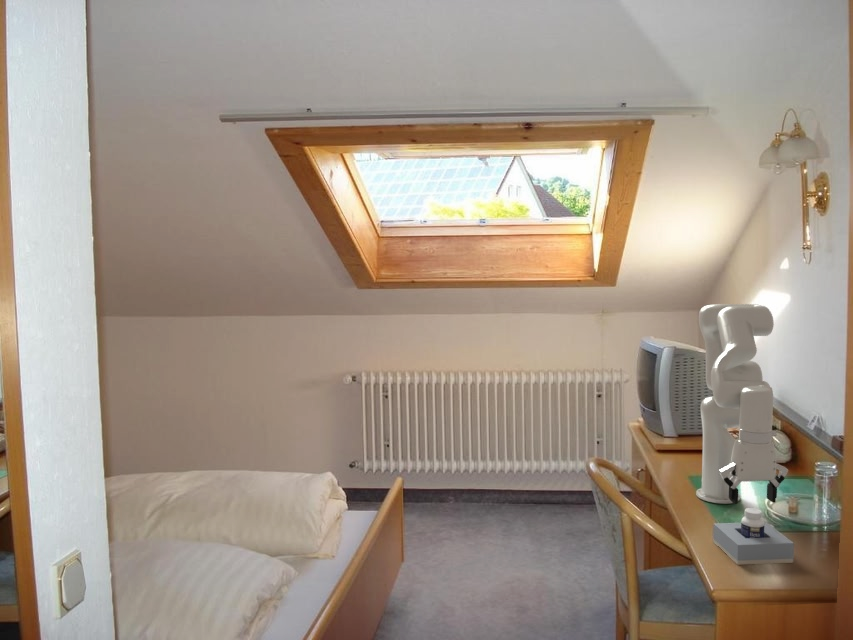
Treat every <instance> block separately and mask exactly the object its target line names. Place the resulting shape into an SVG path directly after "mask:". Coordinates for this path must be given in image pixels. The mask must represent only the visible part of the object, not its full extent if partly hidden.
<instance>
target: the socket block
mask: <svg viewBox="0 0 853 640" xmlns="http://www.w3.org/2000/svg"><path fill="white" fill-rule="evenodd" d="M712 543H714V545H715V546H716V547H718V546H719V547H720V548H721V549H722V550H723V551H724V552H725V553H726V554H727V555H726V554H725V553H724V552H723V551H722V550H721V549H720V548H719V547H718V548H719V549H720V550H721V551H722V552H723V553H724V554H725V555H726V556H727V557H729V559H731V560H732V561H733V562H734V563H735V564H736V565H737V566H738V565H739V566H740V565H741V566H742V565H767V564H771V565H772V564H790V563H791V564H793V563H794V556H795V555H794V554H795V553H794V550H795V549H794V548H795V542H793V541H792V540H790V539H789V538H788V537H787V536H785V535H784V534H783V533H781V532H780V531H778V530H777V529H776V528H775V527H773V526H772V525H770V524H769V523H768V522H767V521H764V538H745V537H744V536H742V535H741V522H722V523H721V522H720V523H719V522H717V523H716V522H715V523H713V526H712Z"/></svg>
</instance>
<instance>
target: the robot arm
mask: <svg viewBox="0 0 853 640" xmlns="http://www.w3.org/2000/svg"><path fill="white" fill-rule="evenodd" d="M698 324H699V330H700V333H701V335H702V338H703V340H704V345H705V382H706V386H707V388H708V389H709V390H711V391H712V395H711V396H707V397H705V398H704V399H702V401H701V402H700V409H699V410H700V418H701V426H702V457H701V459H702V462H701V463H702V464H701V487H700V488H698V489H696V490H695V491H696V492H695V493H696V494H695V495H696V497H697V498H699V499H700V500H701V501H705V502H709V503H714V504H723V505H724V504H725V505H726V504H734V505H737V504H739V502H740V500H741V494H740V493H739V489H738V486H739V485H740V484H741V483H742V482H744V483H745V482H767V481H768V483H767V484H766V485H767V486H766V499H767V500H769V501H770V502H771V503H776V498H777V496H778V488H779V487H780V485H781V484H782V483H783V481H784V480H785V477H786V476H787V474H788V473H789V469H788V468H787V467H786V466H784V465H781V464H779V463H777V455H776V448H775V444H774V441H773V437H776V436H777V431H776V430H773V414H774V413H773V411H774V410H773V409H774V391H773V388H772V386H771V385H770V384H769V383H768V382H767V381H765V380H763V372H762V369H761V367H760V365H759V364H758V362H755V361H753V359H754V358H755V356H756V354H757V351H758V350H757V349H758V348H757V345H756V342H755V341H756V340H755V337H768V336H770V335H771V333H772V332H773V329H774V325H775V324H774V317H773V314H772V312H771V310H770V309H769V308H768V307H766V306H765V305H760V304H756V303H755V304H754V303H751V304H750V303H745V304H744V303H741V304H740V303H739V304H738V303H737V304H736V303H735V304H734V303H716V304H708V305H704V306H703V307H701V309H700V310H699V313H698ZM732 428H733V429H738V438H736V439H735V437H734V436H733V435H732V434H731V433H730V432H729V431H728V429H732ZM777 470H778V471H779V472H778V473H777Z"/></svg>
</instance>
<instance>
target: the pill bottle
mask: <svg viewBox="0 0 853 640" xmlns="http://www.w3.org/2000/svg"><path fill="white" fill-rule="evenodd" d="M762 514H763V513H762V510H761V509H758V508H754V507H747V508H745V509H744V516H743V517H742V518H741V521H740V523H741V535H742V536H744V537H745V538H764V522H765V521H764V520H763V518H762V517H763V516H762Z"/></svg>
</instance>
